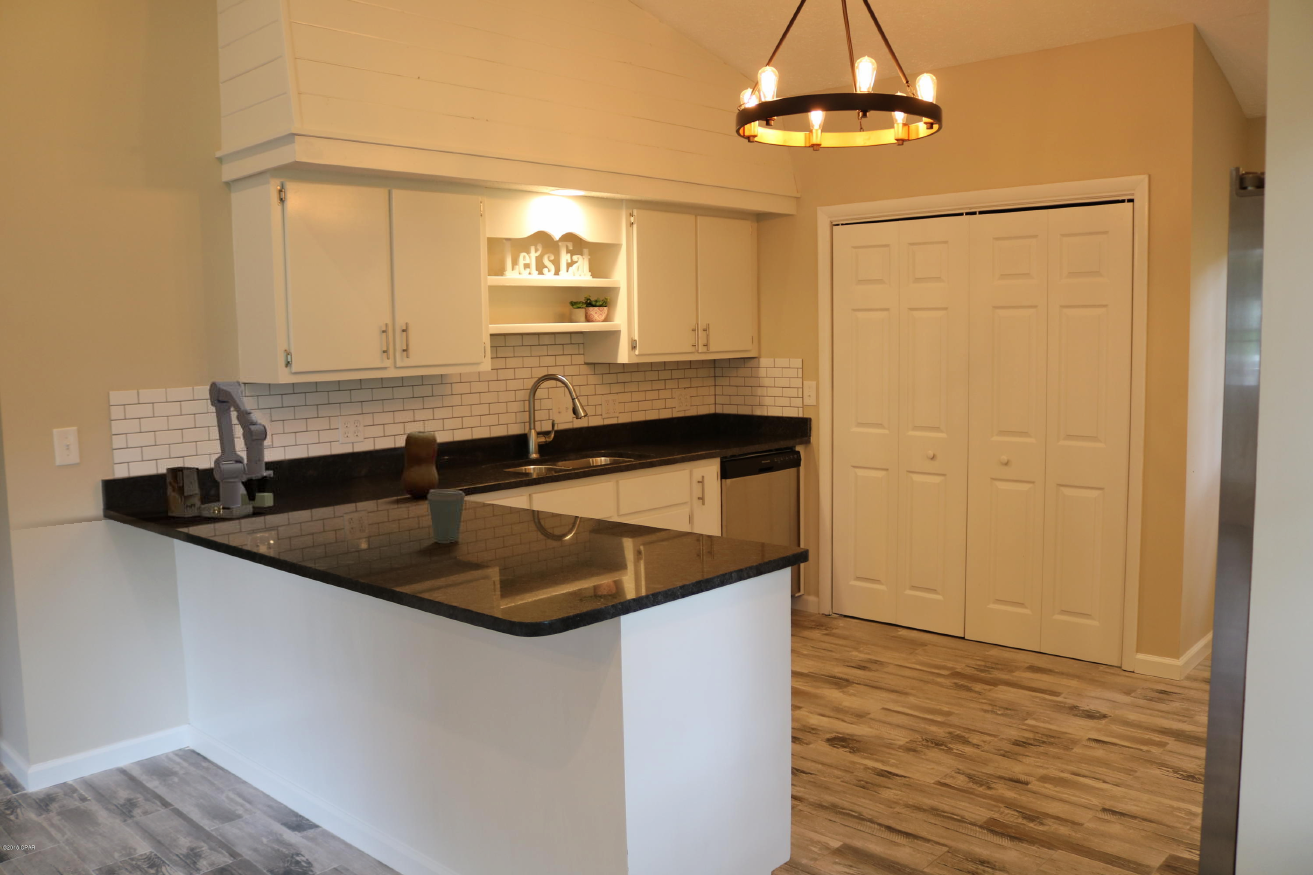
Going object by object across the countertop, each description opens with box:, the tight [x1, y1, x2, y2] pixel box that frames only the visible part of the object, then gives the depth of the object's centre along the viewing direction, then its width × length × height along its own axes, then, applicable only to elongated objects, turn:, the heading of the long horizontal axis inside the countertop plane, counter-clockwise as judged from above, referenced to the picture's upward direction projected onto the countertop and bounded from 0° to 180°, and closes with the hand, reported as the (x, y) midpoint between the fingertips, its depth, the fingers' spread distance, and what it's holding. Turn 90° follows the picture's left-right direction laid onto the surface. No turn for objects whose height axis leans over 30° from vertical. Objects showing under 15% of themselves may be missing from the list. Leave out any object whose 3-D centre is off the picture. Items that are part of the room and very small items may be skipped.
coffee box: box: [165, 466, 202, 518], centre depth 335 cm, size 9×6×16 cm
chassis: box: [198, 501, 253, 519], centre depth 336 cm, size 14×9×4 cm, turn 71°
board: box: [241, 492, 274, 508], centre depth 343 cm, size 10×4×4 cm, turn 71°
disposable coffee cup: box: [427, 489, 466, 544], centre depth 287 cm, size 11×11×15 cm
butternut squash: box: [400, 430, 439, 499], centre depth 377 cm, size 14×13×25 cm
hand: (256, 499), depth 343 cm, fingers closed on board, 4 cm apart
